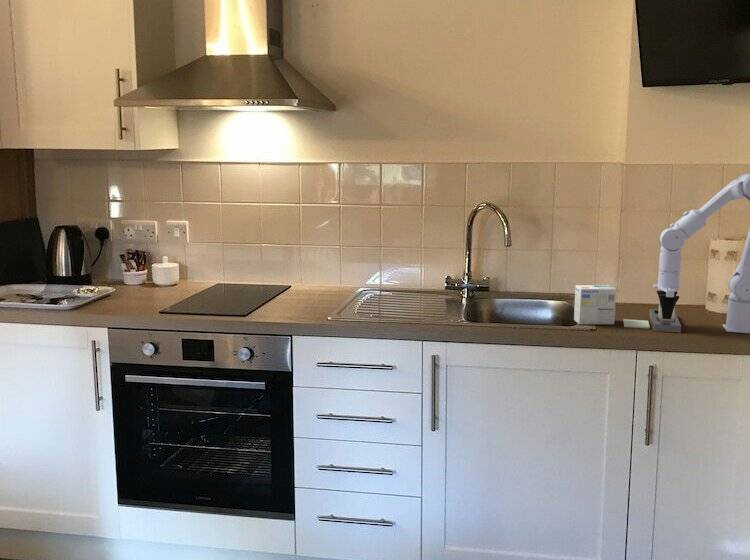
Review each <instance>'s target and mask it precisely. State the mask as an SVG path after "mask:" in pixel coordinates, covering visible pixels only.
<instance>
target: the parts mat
mask: <svg viewBox="0 0 750 560" xmlns="http://www.w3.org/2000/svg"><path fill="white" fill-rule="evenodd" d="M622 321H623V327H624V328H635V329H637V328H638V329H650V328H651V326H650V322H649V320H644V319H643V320H642V319H641V320H639V319H626V318H625V319H624V318H623V320H622Z"/></svg>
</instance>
